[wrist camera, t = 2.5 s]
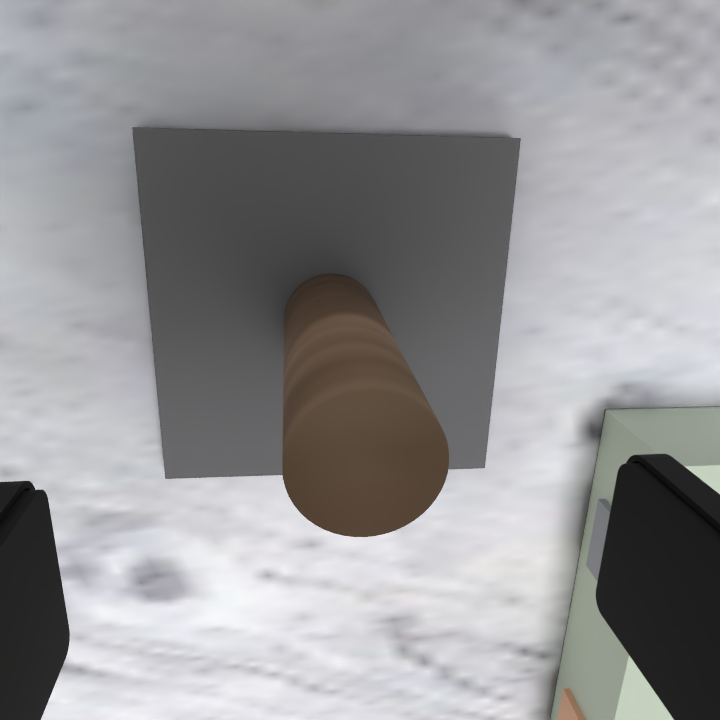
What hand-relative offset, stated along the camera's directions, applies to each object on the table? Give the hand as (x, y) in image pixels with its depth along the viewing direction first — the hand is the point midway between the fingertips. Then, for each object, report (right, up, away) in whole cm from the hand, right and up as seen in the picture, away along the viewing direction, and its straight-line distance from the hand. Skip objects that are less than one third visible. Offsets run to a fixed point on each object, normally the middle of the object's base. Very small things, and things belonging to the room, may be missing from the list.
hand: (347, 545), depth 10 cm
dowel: (-1, +4, +11) cm, 12 cm away
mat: (-1, +5, +12) cm, 13 cm away
